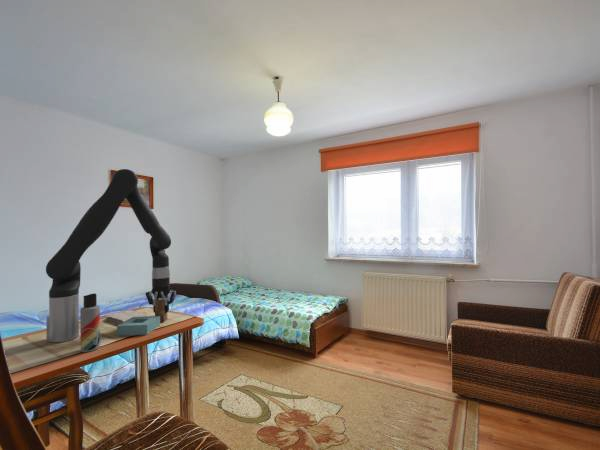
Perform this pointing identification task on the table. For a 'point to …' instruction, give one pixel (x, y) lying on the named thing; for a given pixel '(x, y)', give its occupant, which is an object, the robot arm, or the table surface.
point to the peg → (160, 310)
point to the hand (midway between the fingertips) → (161, 312)
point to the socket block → (138, 326)
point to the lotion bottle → (90, 324)
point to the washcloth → (123, 316)
